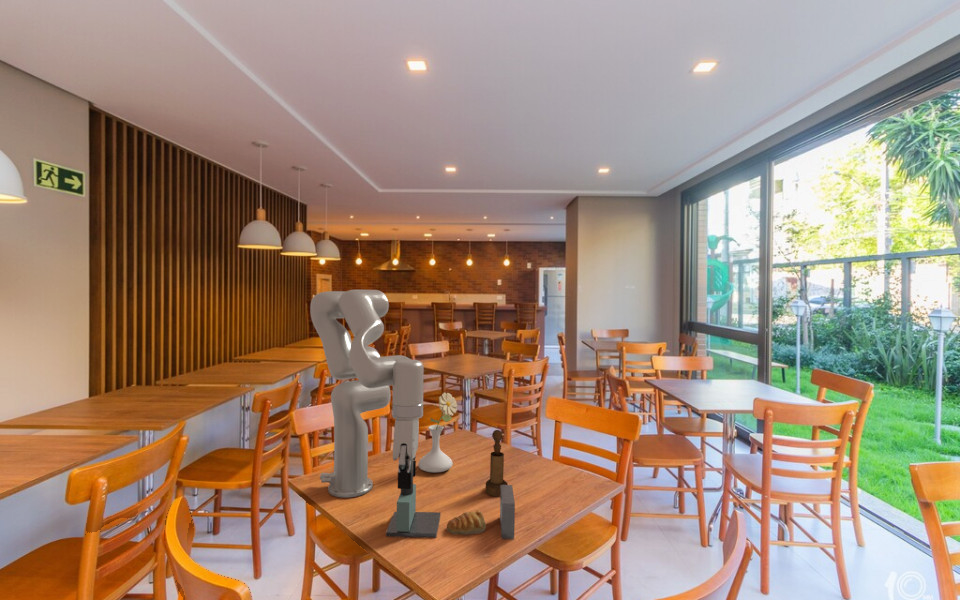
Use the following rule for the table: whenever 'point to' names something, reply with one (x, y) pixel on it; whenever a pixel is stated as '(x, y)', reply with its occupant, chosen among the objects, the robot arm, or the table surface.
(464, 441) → the table surface
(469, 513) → the pastry
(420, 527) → the dark grey flat plate
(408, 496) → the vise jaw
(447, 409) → the flower in vase
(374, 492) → the table surface
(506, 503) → the block
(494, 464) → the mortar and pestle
